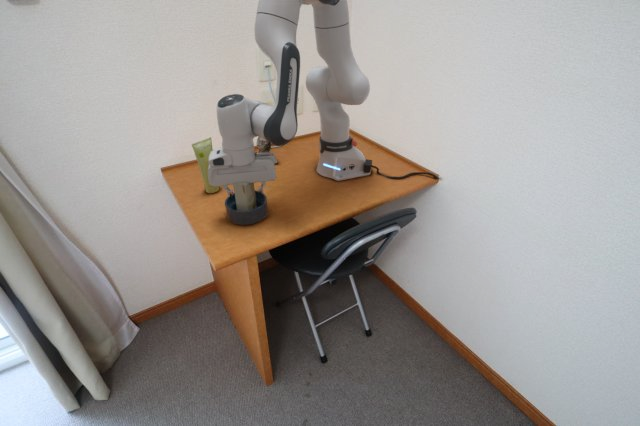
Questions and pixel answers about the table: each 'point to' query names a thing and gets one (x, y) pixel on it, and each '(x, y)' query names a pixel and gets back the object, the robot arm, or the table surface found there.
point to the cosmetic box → (245, 196)
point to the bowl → (249, 215)
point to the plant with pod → (263, 145)
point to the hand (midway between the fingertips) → (246, 194)
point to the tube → (204, 161)
